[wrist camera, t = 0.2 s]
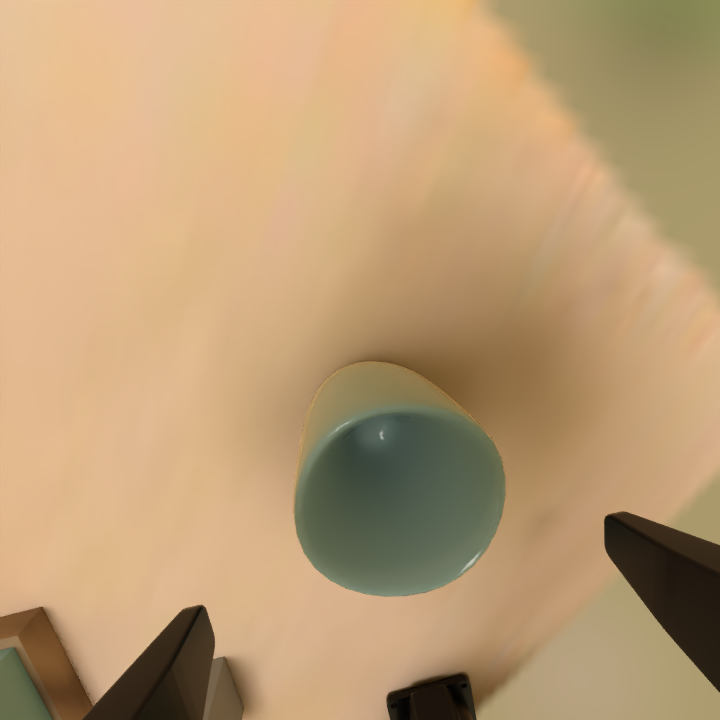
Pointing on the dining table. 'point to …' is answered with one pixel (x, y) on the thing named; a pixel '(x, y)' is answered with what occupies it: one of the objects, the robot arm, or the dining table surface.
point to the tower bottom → (45, 663)
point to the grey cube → (222, 694)
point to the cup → (394, 483)
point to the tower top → (18, 691)
